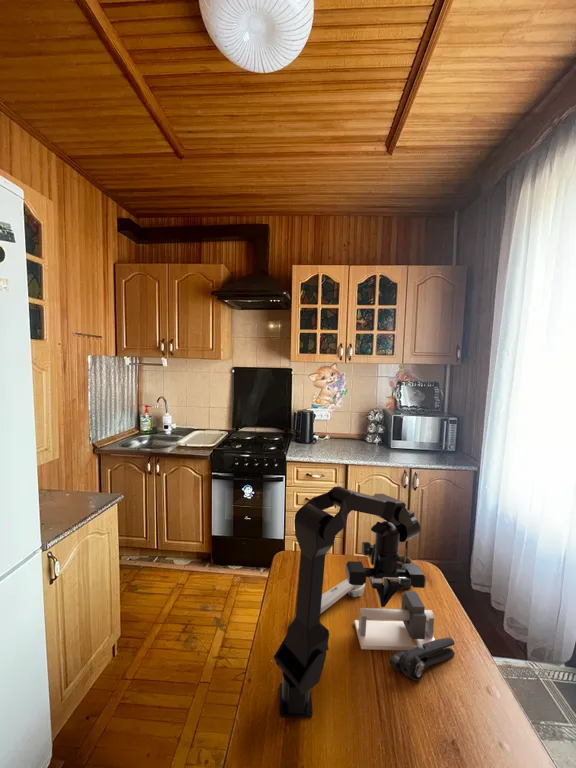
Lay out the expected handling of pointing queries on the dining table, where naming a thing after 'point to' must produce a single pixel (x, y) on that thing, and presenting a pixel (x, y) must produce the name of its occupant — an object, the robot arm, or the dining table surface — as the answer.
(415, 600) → the stepped block
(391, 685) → the dining table surface
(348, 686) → the dining table surface
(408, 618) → the pipe stand
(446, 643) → the can opener
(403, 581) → the mate gourd
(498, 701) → the dining table surface
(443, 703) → the dining table surface
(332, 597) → the light grey long piece
